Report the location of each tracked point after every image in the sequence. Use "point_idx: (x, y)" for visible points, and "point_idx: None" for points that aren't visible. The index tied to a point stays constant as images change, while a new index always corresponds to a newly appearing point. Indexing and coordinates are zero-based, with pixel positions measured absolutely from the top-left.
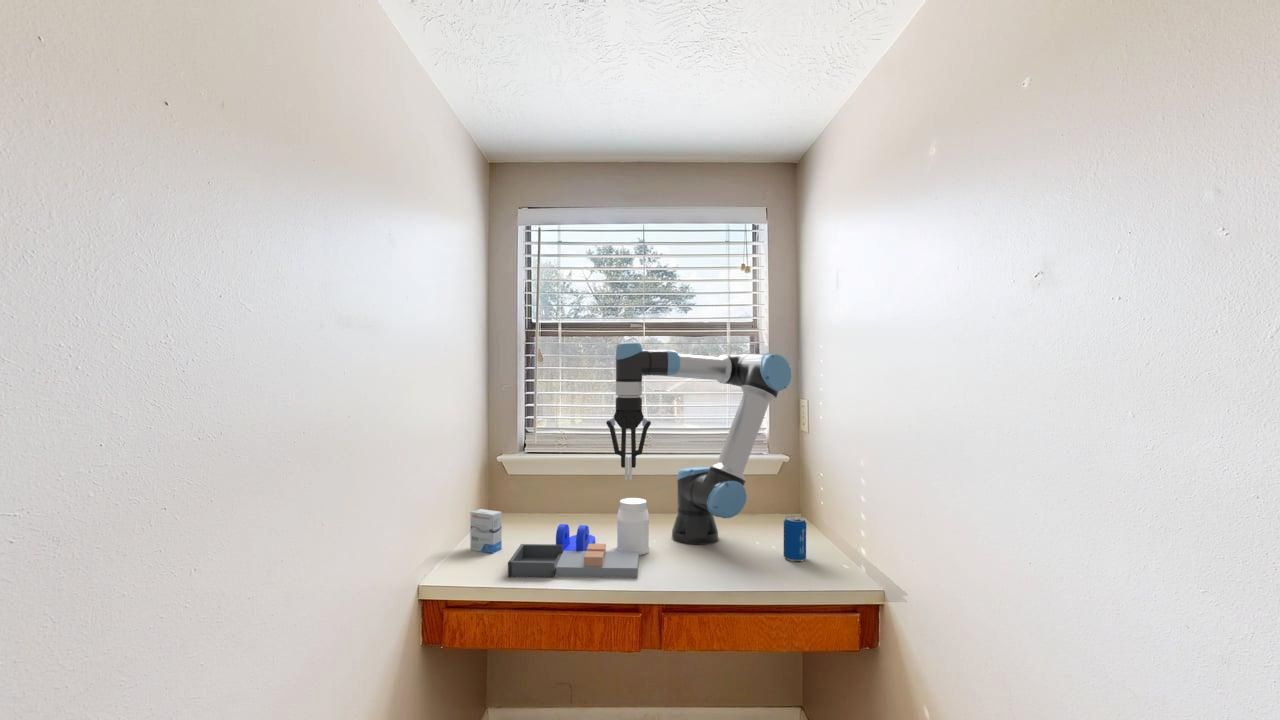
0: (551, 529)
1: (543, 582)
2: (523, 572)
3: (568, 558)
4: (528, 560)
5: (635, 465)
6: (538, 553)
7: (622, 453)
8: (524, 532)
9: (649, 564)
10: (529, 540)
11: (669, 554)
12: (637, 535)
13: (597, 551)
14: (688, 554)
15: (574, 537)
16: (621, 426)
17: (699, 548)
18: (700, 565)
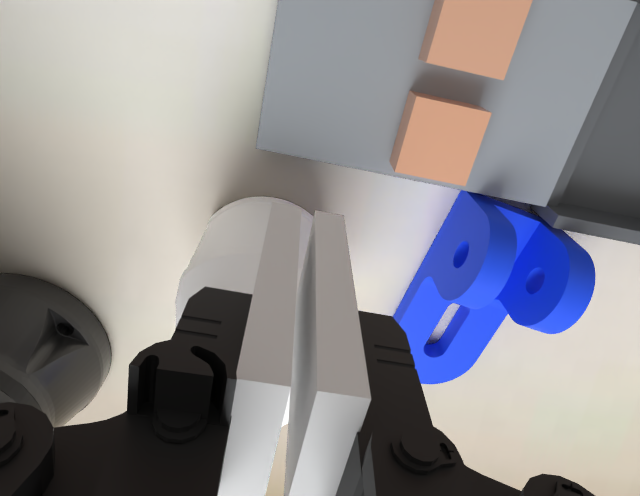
0: (493, 469)
1: None
2: None
3: (553, 109)
4: None
5: (189, 304)
6: (627, 220)
7: (435, 475)
8: (580, 455)
9: (222, 85)
10: (587, 388)
11: (132, 187)
12: (247, 227)
13: (455, 67)
14: (57, 176)
15: (459, 358)
16: None
17: (12, 235)
18: (9, 35)
